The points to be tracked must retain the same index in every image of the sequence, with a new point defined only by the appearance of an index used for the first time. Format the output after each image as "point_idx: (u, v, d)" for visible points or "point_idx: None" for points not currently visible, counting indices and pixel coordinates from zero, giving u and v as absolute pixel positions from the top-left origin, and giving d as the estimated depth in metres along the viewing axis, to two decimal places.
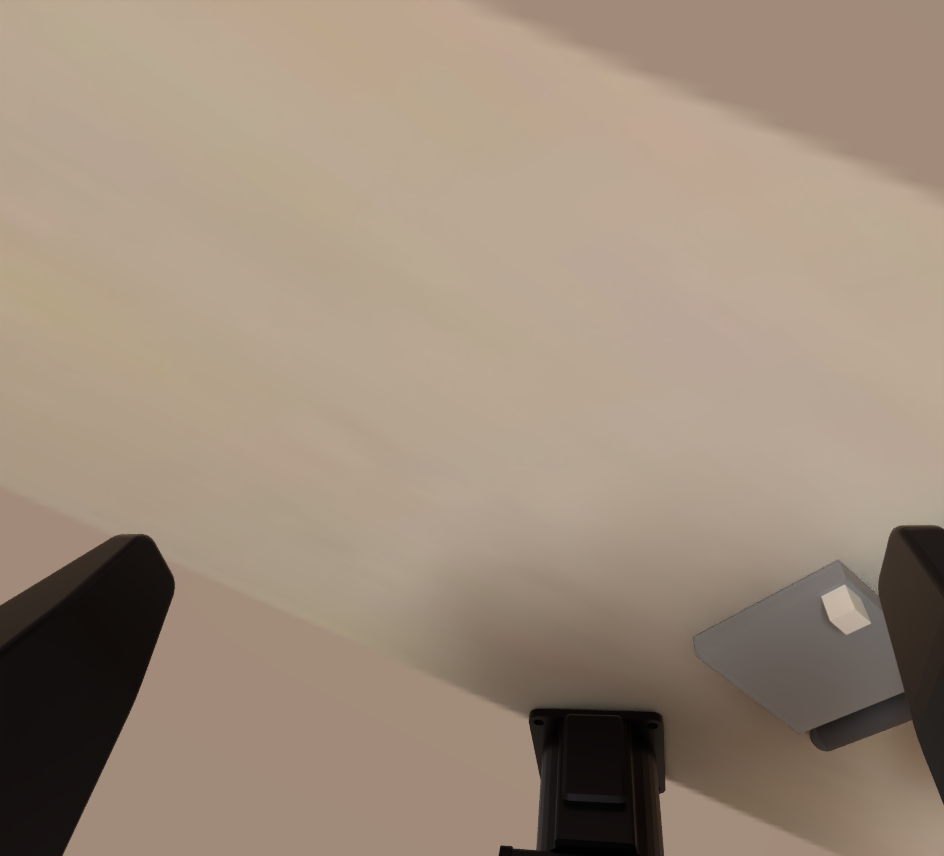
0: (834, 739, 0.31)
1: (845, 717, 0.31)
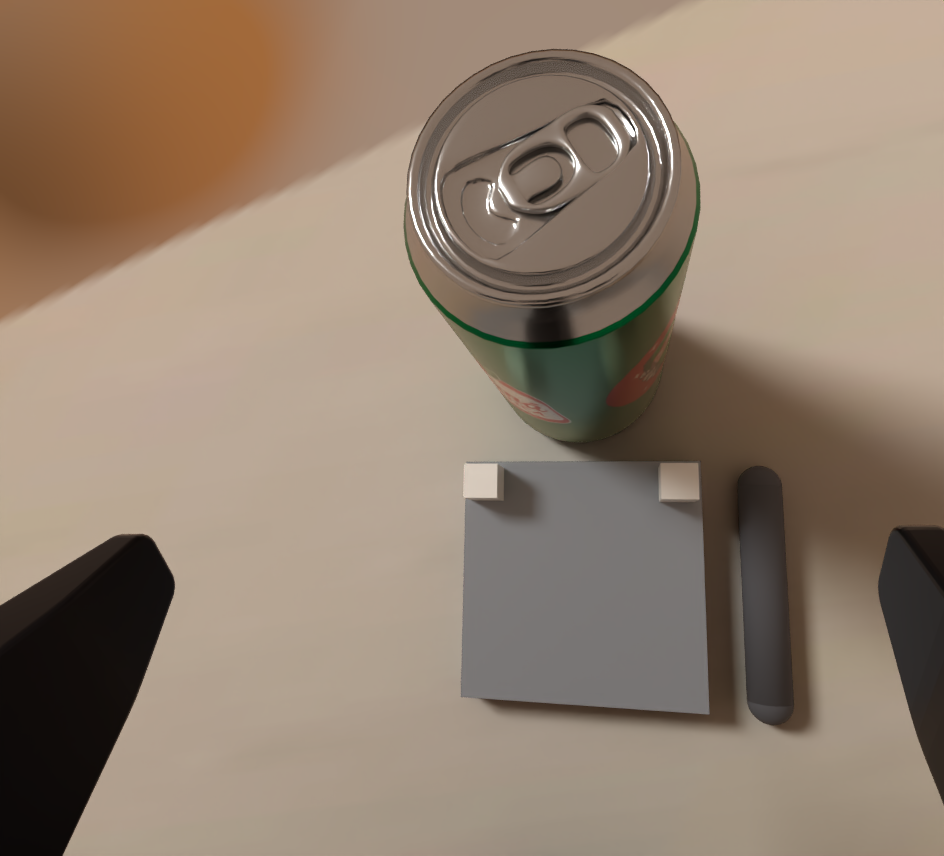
0: (760, 682, 0.19)
1: (744, 644, 0.19)
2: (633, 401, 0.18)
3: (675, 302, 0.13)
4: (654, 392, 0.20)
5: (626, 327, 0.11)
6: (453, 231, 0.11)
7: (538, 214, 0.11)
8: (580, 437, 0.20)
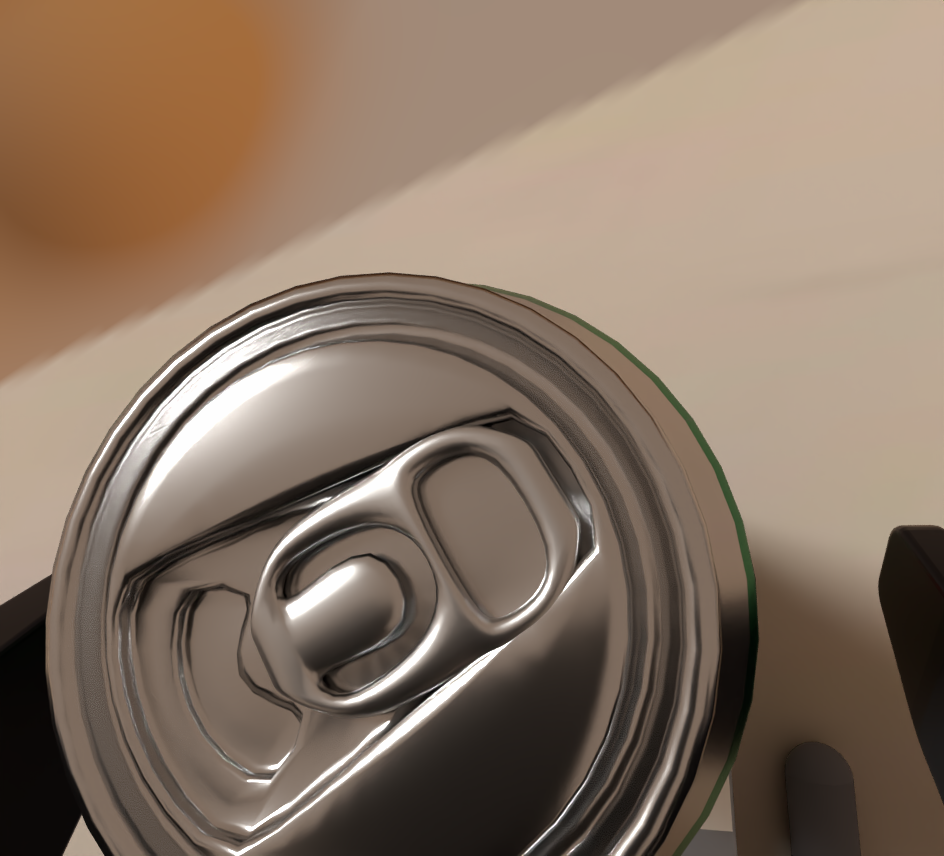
0: None
1: None
2: None
3: None
4: None
5: None
6: (140, 743, 0.04)
7: (348, 712, 0.04)
8: None
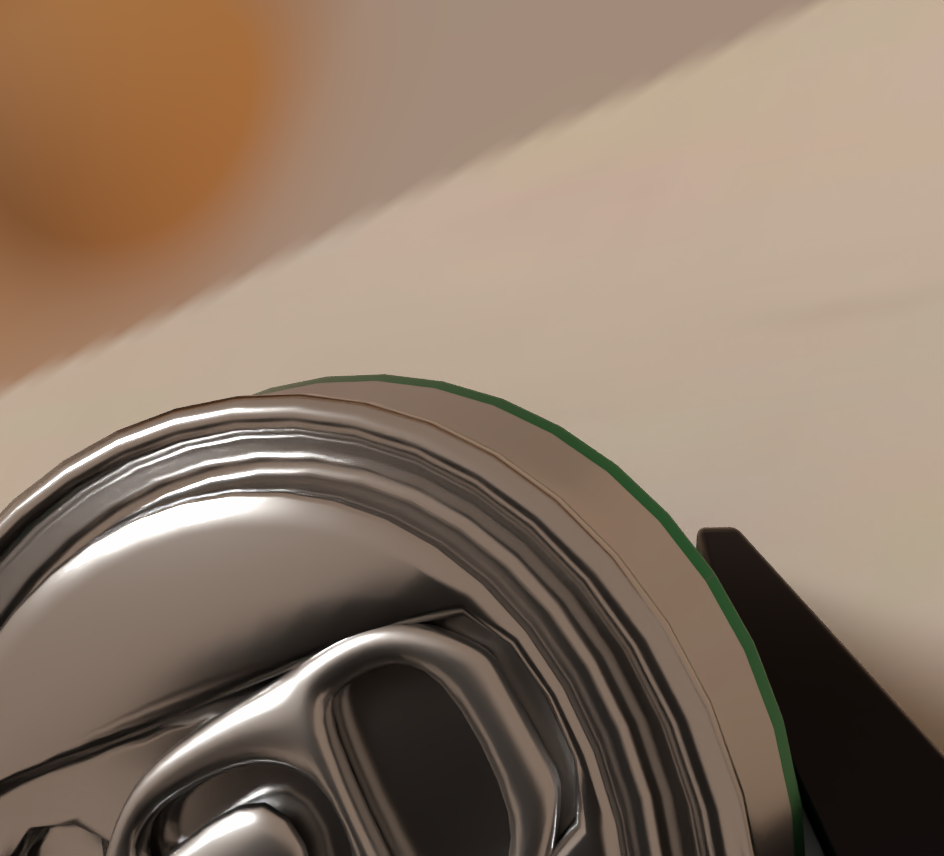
0: None
1: None
2: None
3: None
4: None
5: None
6: None
7: None
8: None
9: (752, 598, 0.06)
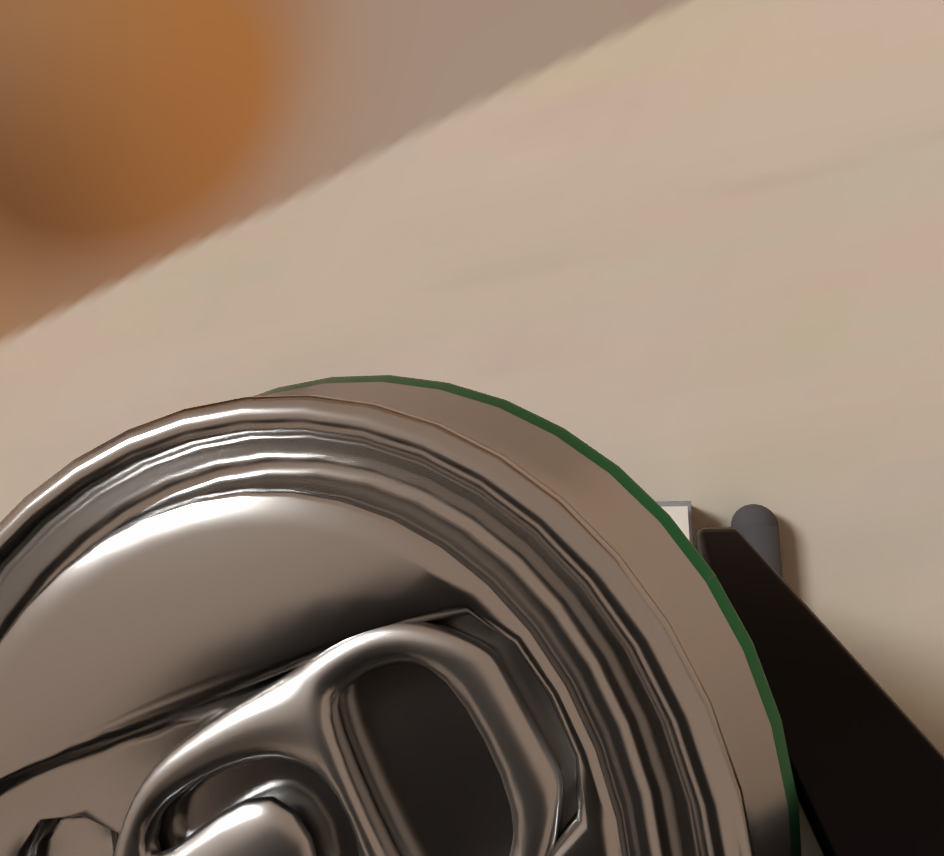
0: None
1: None
2: None
3: None
4: None
5: None
6: None
7: None
8: None
9: (751, 598, 0.06)
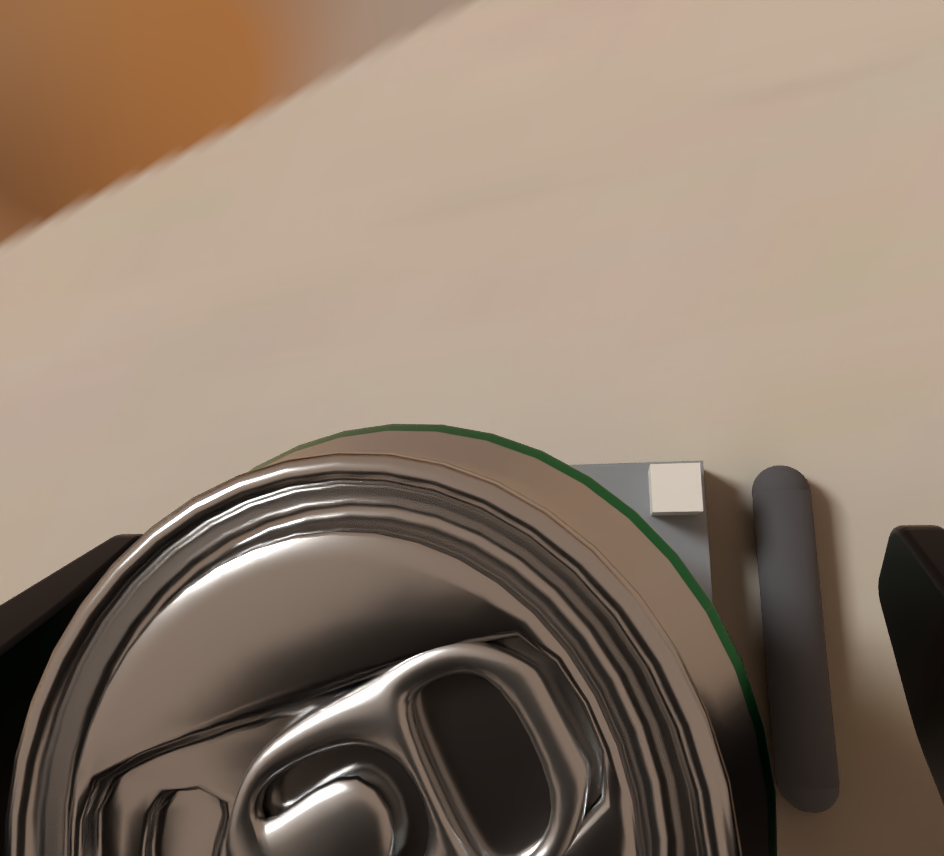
0: (793, 756, 0.14)
1: (769, 701, 0.15)
2: None
3: None
4: None
5: None
6: None
7: None
8: None
9: None
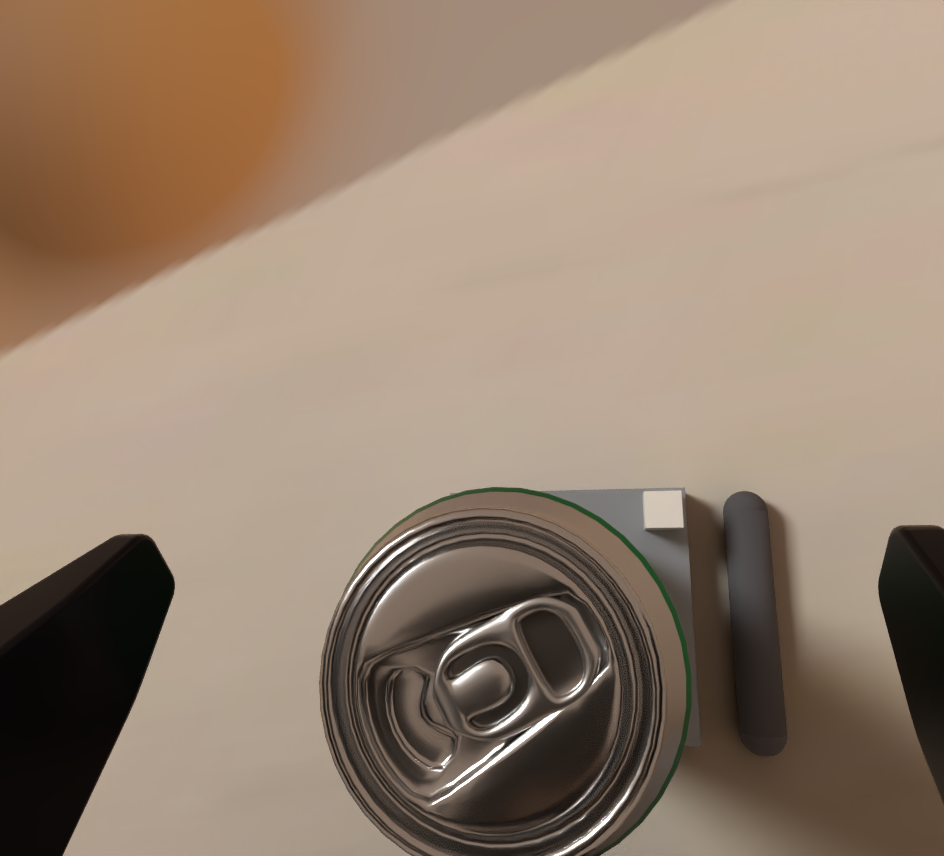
0: (752, 713, 0.18)
1: (735, 673, 0.19)
2: None
3: None
4: None
5: (597, 851, 0.09)
6: (375, 749, 0.08)
7: (482, 738, 0.08)
8: None
9: None
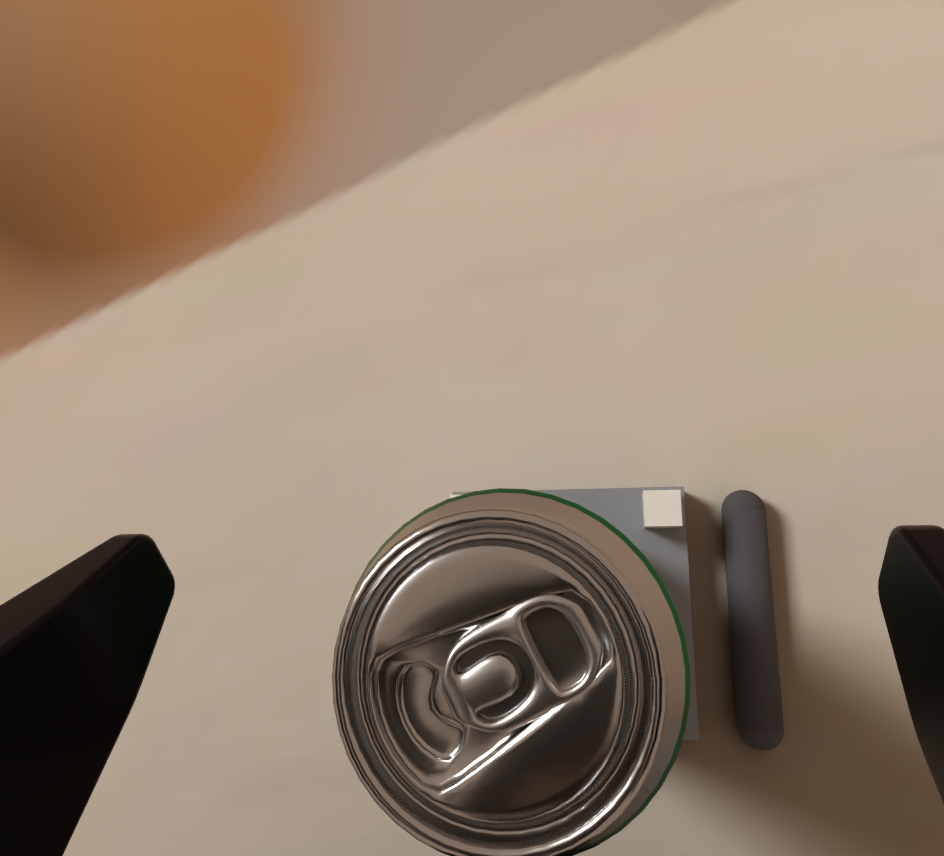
0: (749, 707, 0.19)
1: (733, 669, 0.19)
2: None
3: None
4: None
5: (600, 839, 0.09)
6: (386, 741, 0.09)
7: (489, 729, 0.09)
8: None
9: None
